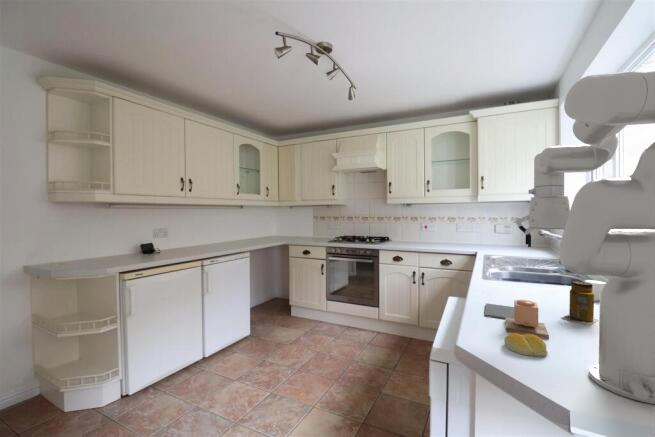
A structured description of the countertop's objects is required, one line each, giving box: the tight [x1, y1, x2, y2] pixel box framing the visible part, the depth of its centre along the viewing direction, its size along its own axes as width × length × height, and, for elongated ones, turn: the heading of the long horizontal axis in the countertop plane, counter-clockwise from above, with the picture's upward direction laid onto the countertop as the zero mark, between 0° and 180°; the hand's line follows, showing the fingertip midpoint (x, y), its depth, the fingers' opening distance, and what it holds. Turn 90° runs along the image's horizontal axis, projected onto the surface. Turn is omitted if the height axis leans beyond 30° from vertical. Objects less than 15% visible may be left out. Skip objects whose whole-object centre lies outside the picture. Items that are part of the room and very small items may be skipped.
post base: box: [505, 318, 550, 340], centre depth 88 cm, size 10×10×1 cm
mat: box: [484, 303, 514, 320], centre depth 102 cm, size 14×14×1 cm
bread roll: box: [504, 333, 549, 358], centre depth 76 cm, size 8×9×4 cm
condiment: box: [561, 280, 599, 326], centre depth 97 cm, size 7×8×12 cm
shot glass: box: [584, 279, 607, 302], centre depth 120 cm, size 7×7×7 cm
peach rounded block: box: [513, 299, 539, 327], centre depth 88 cm, size 7×6×6 cm
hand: (548, 247), depth 92 cm, fingers open, 9 cm apart
